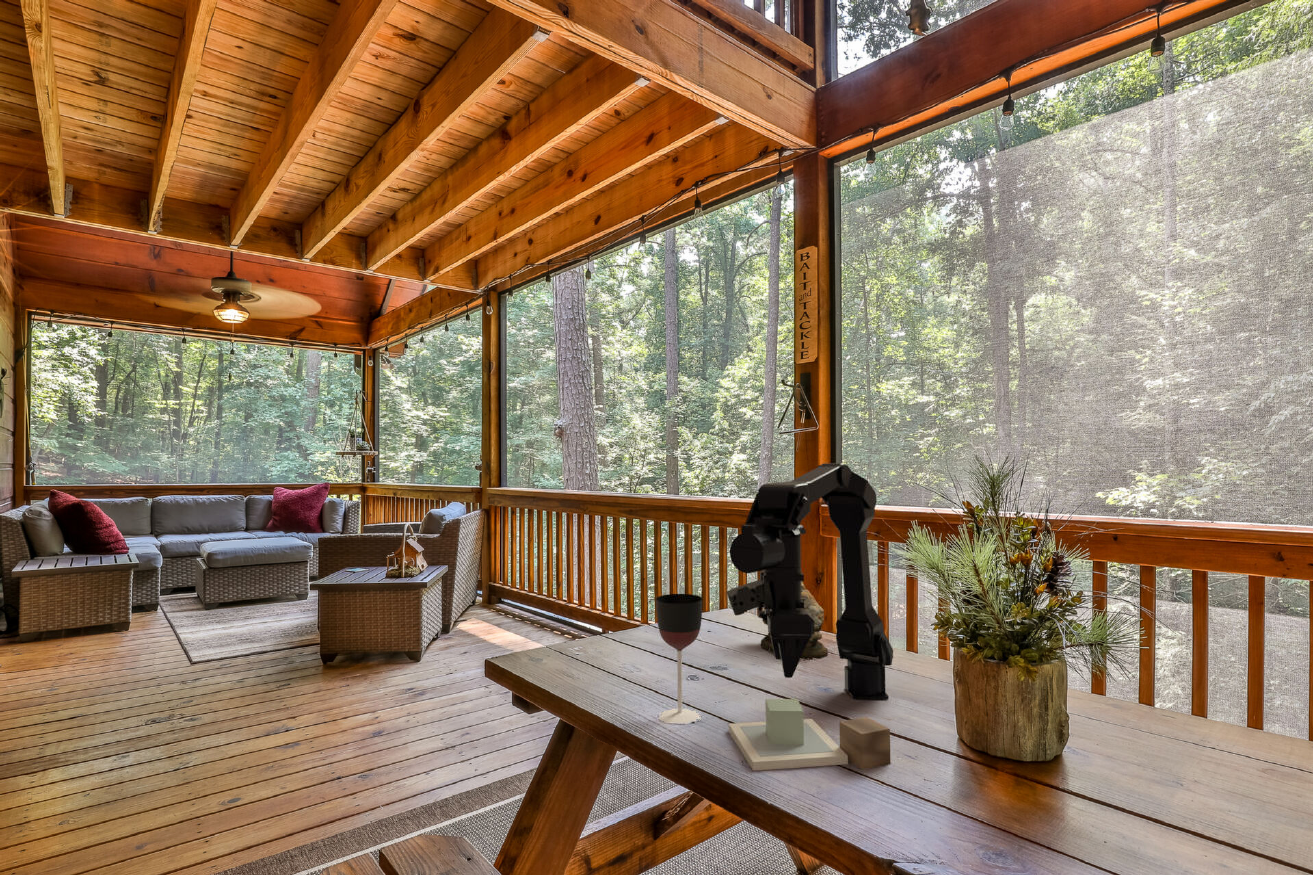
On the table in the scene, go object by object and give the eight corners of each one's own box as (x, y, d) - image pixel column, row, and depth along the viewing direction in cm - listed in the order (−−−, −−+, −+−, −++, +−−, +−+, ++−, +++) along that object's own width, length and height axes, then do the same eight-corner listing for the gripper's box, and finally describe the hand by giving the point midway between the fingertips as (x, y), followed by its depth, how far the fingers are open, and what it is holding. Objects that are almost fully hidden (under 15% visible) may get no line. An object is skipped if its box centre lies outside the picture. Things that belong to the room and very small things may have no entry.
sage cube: (797, 731, 103) (797, 699, 104) (803, 745, 98) (803, 711, 99) (765, 731, 104) (765, 699, 104) (770, 744, 99) (769, 710, 99)
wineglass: (707, 709, 117) (706, 594, 117) (697, 728, 108) (696, 604, 109) (664, 705, 119) (663, 592, 120) (650, 723, 110) (650, 602, 111)
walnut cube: (867, 750, 100) (866, 716, 100) (890, 764, 95) (889, 728, 95) (839, 756, 98) (839, 721, 98) (862, 770, 93) (861, 734, 93)
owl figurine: (745, 647, 157) (744, 575, 158) (774, 638, 165) (773, 569, 166) (811, 663, 144) (809, 583, 145) (839, 652, 152) (838, 577, 153)
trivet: (811, 726, 109) (811, 718, 109) (847, 764, 95) (847, 755, 95) (728, 731, 107) (728, 723, 107) (753, 770, 93) (753, 761, 93)
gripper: (725, 557, 112) (726, 650, 111) (734, 575, 93) (735, 687, 92) (792, 557, 111) (793, 651, 111) (814, 575, 93) (816, 688, 92)
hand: (783, 668), depth 101 cm, fingers open, 9 cm apart
